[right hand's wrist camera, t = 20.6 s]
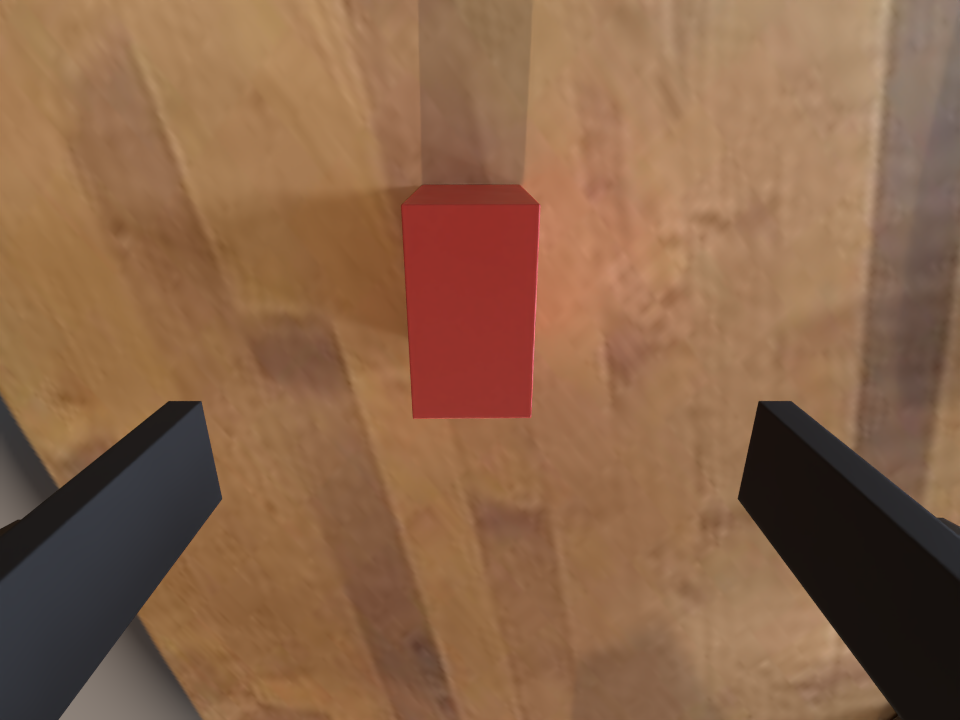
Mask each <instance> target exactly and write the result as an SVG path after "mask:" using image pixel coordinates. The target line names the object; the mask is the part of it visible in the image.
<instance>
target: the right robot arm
mask: <svg viewBox="0 0 960 720" xmlns="http://www.w3.org/2000/svg"><path fill="white" fill-rule="evenodd" d="M221 500H222V495H221V491H220V486H219V481H218V477H217V472H216V467H215V463H214V458H213V453H212V449H211V444H210V439H209V435H208V430H207V425H206V421H205V416H204V411H203V407H202V402H201V401H168V402H167V403H166V404H165V405H163V406H162V407H161V408H160V409H158V410H157V411H156V412H155V413H153V414H152V415H151V416H150V417H148V418H147V419H146V420H145V421H143V422H142V423H141V424H140V425H138V426H137V427H136V428H135V429H134V430H132V431H131V432H130V433H129V434H127V435H126V436H125V437H124V438H122V439H121V440H120V441H119V442H117V443H116V444H115V445H114V446H112V447H111V448H110V449H109V450H107V451H106V452H105V453H104V454H102V455H101V456H100V457H99V458H97V459H96V460H95V461H94V462H92V463H91V464H90V465H89V466H87V467H86V468H85V469H84V470H82V471H81V472H80V473H79V474H77V475H76V476H75V477H74V478H72V479H71V480H70V481H69V482H67V483H66V484H65V485H64V486H63V487H61V488H60V489H59V490H58V491H56V492H55V493H54V494H53V495H51V496H50V497H49V498H48V499H46V500H45V501H44V502H43V503H41V504H40V505H39V506H38V507H36V508H35V509H34V510H33V511H31V512H30V513H29V514H28V515H26V516H25V517H24V518H23V519H21V520H16V521H14V522H13V523H11V524H9V525H7V526H5V527H3V528H1V529H0V720H59V718H60V717H61V715H62V714H63V713H64V711H65V710H66V709H67V707H68V706H69V705H70V703H71V702H72V701H73V699H74V698H75V697H76V695H77V694H78V693H79V691H80V690H81V689H82V687H83V686H84V684H85V683H86V682H87V680H88V679H89V678H90V676H91V675H92V674H93V672H94V671H95V670H96V668H97V667H98V666H99V664H100V663H101V662H102V660H103V659H104V657H105V656H106V655H107V654H108V652H109V651H110V649H111V648H112V647H113V645H114V644H115V643H116V641H117V640H118V639H119V637H120V636H121V635H122V633H123V632H124V631H125V629H126V628H127V627H128V625H129V624H130V622H131V621H132V620H133V618H134V617H135V616H136V614H137V613H138V612H139V610H140V609H141V608H142V606H143V605H144V604H145V602H146V601H147V600H148V598H149V597H150V596H151V594H152V593H153V591H154V590H155V589H156V587H157V586H158V585H159V583H160V582H161V581H162V579H163V578H164V577H165V575H166V574H167V573H168V571H169V570H170V569H171V567H172V566H173V565H174V563H175V562H176V560H177V559H178V558H179V556H180V555H181V554H182V552H183V551H184V550H185V548H186V547H187V546H188V544H189V543H190V542H191V540H192V539H193V538H194V536H195V535H196V534H197V532H198V531H199V529H200V528H201V527H202V525H203V524H204V523H205V521H206V520H207V519H208V517H209V516H210V515H211V513H212V512H213V511H214V509H215V508H216V507H217V505H218V504H219V503H220V501H221ZM738 500H739V501H740V503H741V504H742V505H743V507H744V508H745V509H746V511H747V512H748V513H749V515H750V516H751V517H752V519H753V520H754V521H755V523H756V524H757V525H758V527H759V528H760V529H761V531H762V532H763V534H764V535H765V536H766V538H767V539H768V540H769V542H770V543H771V544H772V546H773V547H774V548H775V550H776V551H777V552H778V554H779V555H780V556H781V558H782V559H783V560H784V562H785V563H786V565H787V566H788V567H789V569H790V570H791V571H792V573H793V574H794V575H795V577H796V578H797V579H798V581H799V582H800V583H801V585H802V586H803V587H804V589H805V590H806V591H807V593H808V594H809V596H810V597H811V598H812V600H813V601H814V602H815V604H816V605H817V606H818V608H819V609H820V610H821V612H822V613H823V614H824V616H825V617H826V618H827V620H828V621H829V623H830V624H831V625H832V627H833V628H834V629H835V631H836V632H837V633H838V635H839V636H840V637H841V639H842V640H843V641H844V643H845V644H846V645H847V647H848V648H849V649H850V651H851V652H852V654H853V655H854V656H855V658H856V659H857V660H858V662H859V663H860V664H861V666H862V667H863V668H864V670H865V671H866V672H867V674H868V675H869V676H870V678H871V679H872V680H873V682H874V683H875V685H876V686H877V687H878V689H879V690H880V691H881V693H882V694H883V695H884V697H885V698H886V699H887V701H888V702H889V703H890V705H891V706H892V707H893V709H894V710H895V711H896V713H897V714H898V716H897V717H896V718H894V719H893V720H960V527H959V526H957V525H956V524H954V523H952V522H950V521H948V520H946V519H944V518H936V517H935V516H934V515H932V514H931V513H930V512H929V511H927V510H926V509H925V508H924V507H922V506H921V505H920V504H919V503H917V502H916V501H915V500H914V499H912V498H911V497H910V496H909V495H907V494H906V493H905V492H904V491H902V490H901V489H900V488H899V487H897V486H896V485H895V484H894V483H893V482H891V481H890V480H889V479H888V478H886V477H885V476H884V475H883V474H881V473H880V472H879V471H878V470H876V469H875V468H874V467H873V466H871V465H870V464H869V463H868V462H866V461H865V460H864V459H863V458H861V457H860V456H859V455H858V454H856V453H855V452H854V451H853V450H851V449H850V448H849V447H848V446H846V445H845V444H844V443H843V442H841V441H840V440H839V439H838V438H836V437H835V436H834V435H833V434H831V433H830V432H829V431H828V430H826V429H825V428H824V427H823V426H822V425H820V424H819V423H818V422H817V421H815V420H814V419H813V418H812V417H810V416H809V415H808V414H807V413H805V412H804V411H803V410H802V409H800V408H799V407H798V406H797V405H795V404H794V403H793V402H792V401H759V402H758V407H757V411H756V416H755V421H754V425H753V430H752V435H751V439H750V444H749V449H748V453H747V458H746V463H745V467H744V472H743V477H742V481H741V486H740V491H739V495H738Z"/></svg>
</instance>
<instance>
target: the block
mask: <svg viewBox="0 0 960 720" xmlns="http://www.w3.org/2000/svg"><path fill="white" fill-rule="evenodd" d="M401 213H402V231H403V249H404V267H405V285H406V303H407V321H408V339H409V357H410V375H411V393H412V411H413V419H447V418H531V412H532V389H533V366H534V342H535V319H536V295H537V272H538V249H539V225H540V204H539V203H538V202H537V201H536V200H535V199H534V198H533V197H532V196H531V195H530V194H529V193H528V192H527V191H526V190H524V189H523V188H522V187H521V186H520V185H422V186H421V187H419V188H418V189H417V190H416V191H415V192H414V193H413V194H412V195H411V196H410V197H409V198H408V199H407V200H406V201H405V202H404V203H403V204H402V205H401Z"/></svg>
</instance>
